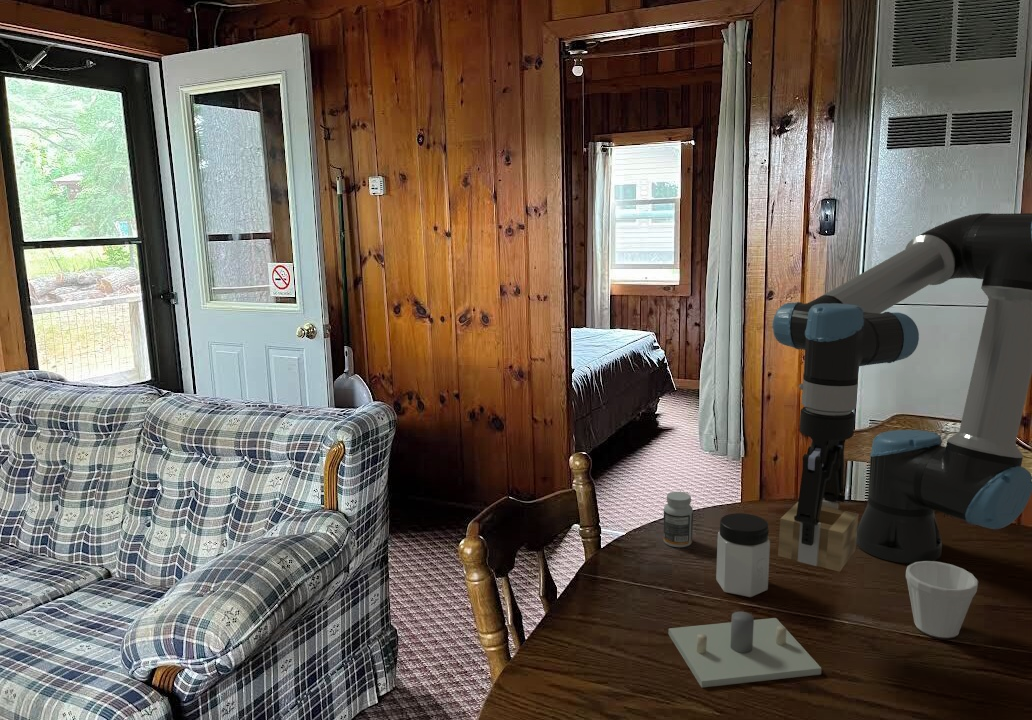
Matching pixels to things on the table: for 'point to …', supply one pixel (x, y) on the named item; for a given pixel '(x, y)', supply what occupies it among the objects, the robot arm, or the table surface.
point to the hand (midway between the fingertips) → (817, 551)
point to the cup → (939, 597)
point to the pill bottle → (678, 520)
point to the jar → (743, 554)
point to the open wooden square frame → (822, 536)
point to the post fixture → (742, 651)
